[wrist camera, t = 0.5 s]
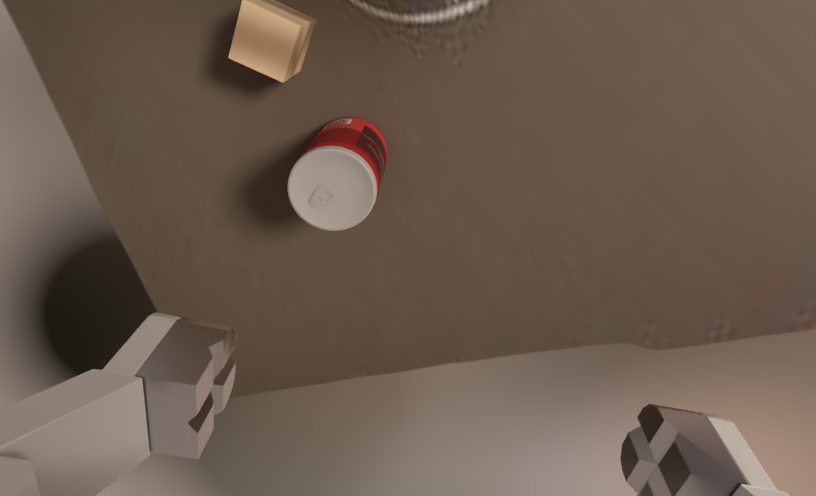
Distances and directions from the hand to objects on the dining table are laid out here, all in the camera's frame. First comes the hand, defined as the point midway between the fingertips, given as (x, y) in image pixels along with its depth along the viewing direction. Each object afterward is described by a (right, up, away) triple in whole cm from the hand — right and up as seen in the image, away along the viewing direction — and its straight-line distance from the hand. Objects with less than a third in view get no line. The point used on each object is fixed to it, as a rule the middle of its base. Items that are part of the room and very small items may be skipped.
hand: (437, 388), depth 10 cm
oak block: (-12, +23, +38) cm, 46 cm away
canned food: (-6, +13, +43) cm, 45 cm away
